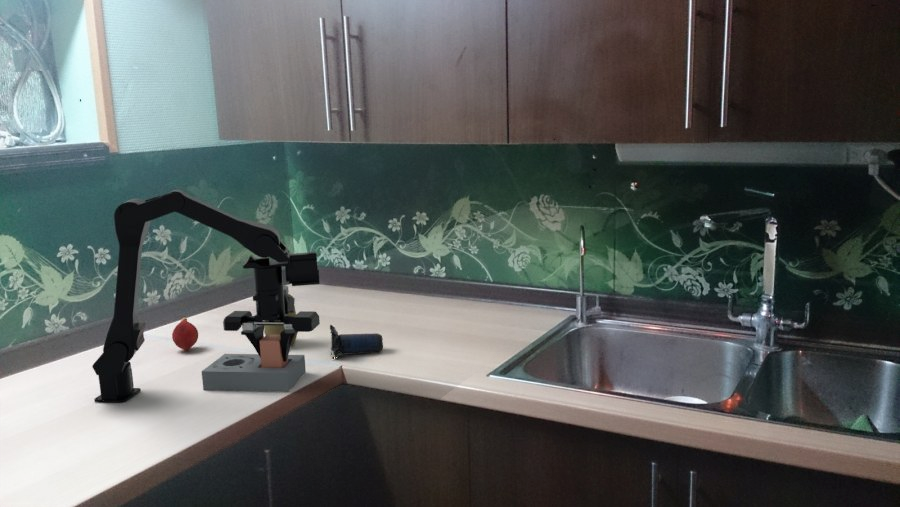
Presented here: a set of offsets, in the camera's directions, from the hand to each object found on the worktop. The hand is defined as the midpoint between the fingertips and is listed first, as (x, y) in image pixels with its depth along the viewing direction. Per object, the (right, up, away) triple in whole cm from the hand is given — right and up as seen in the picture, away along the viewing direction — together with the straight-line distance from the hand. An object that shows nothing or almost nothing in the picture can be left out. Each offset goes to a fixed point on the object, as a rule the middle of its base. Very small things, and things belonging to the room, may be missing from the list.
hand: (274, 360), depth 156 cm
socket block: (-4, -4, +2) cm, 6 cm away
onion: (-26, -1, +24) cm, 35 cm away
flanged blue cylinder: (+15, -1, +18) cm, 23 cm away
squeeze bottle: (-4, 0, +25) cm, 26 cm away
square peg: (0, -2, +1) cm, 2 cm away
